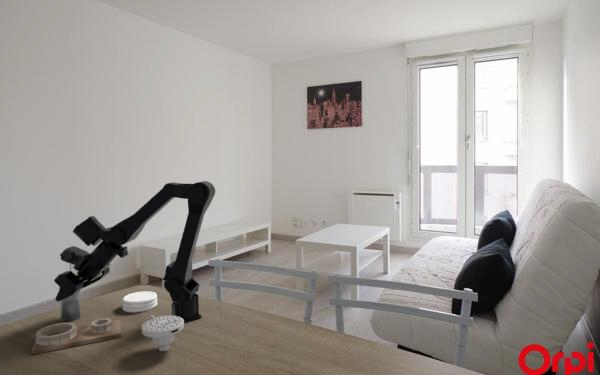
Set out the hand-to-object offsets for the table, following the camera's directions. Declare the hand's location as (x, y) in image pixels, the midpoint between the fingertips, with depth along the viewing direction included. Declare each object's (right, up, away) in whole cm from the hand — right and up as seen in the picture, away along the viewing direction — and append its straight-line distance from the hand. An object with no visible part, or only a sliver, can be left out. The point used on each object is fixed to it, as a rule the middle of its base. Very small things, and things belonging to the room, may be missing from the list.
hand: (65, 295), depth 112 cm
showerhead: (+35, -8, -19) cm, 40 cm away
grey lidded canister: (+1, -7, 0) cm, 7 cm away
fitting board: (+11, -7, -12) cm, 18 cm away
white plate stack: (+18, -6, +9) cm, 21 cm away
